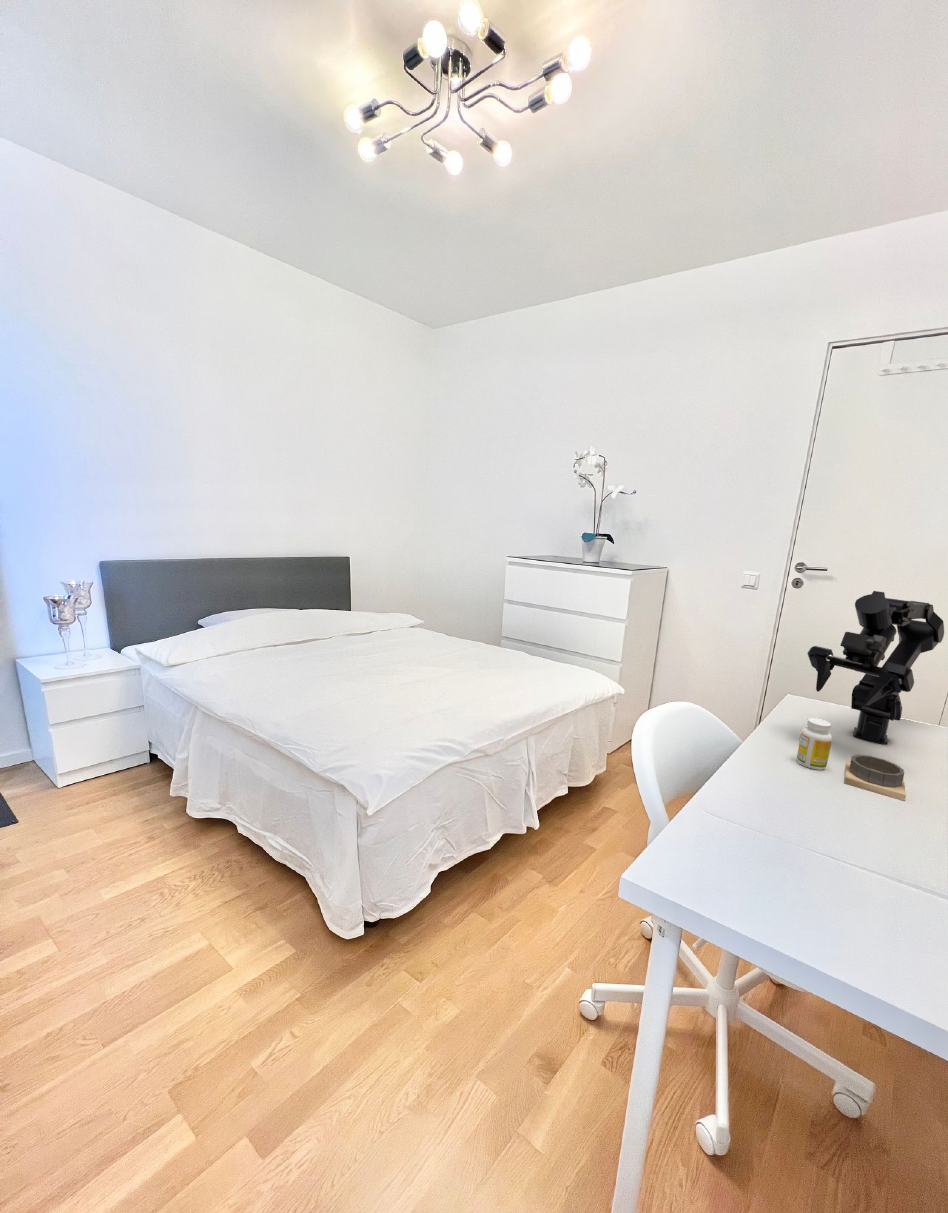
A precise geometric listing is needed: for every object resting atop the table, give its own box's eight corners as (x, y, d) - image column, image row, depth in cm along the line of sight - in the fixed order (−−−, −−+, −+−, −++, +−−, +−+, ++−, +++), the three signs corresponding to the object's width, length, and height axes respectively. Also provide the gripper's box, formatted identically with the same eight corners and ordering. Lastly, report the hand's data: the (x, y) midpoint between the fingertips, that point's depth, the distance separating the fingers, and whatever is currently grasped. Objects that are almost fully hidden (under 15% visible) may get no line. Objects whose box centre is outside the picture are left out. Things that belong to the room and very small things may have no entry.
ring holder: (846, 765, 108) (849, 748, 108) (901, 780, 103) (905, 763, 102) (844, 783, 100) (847, 765, 100) (904, 800, 95) (908, 782, 94)
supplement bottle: (792, 762, 108) (799, 720, 106) (801, 756, 112) (809, 714, 110) (821, 773, 104) (829, 729, 102) (830, 766, 108) (838, 723, 106)
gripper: (818, 611, 117) (786, 662, 113) (921, 628, 102) (887, 689, 98) (828, 641, 123) (797, 691, 119) (926, 662, 108) (895, 720, 104)
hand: (840, 697), depth 110 cm, fingers open, 9 cm apart
